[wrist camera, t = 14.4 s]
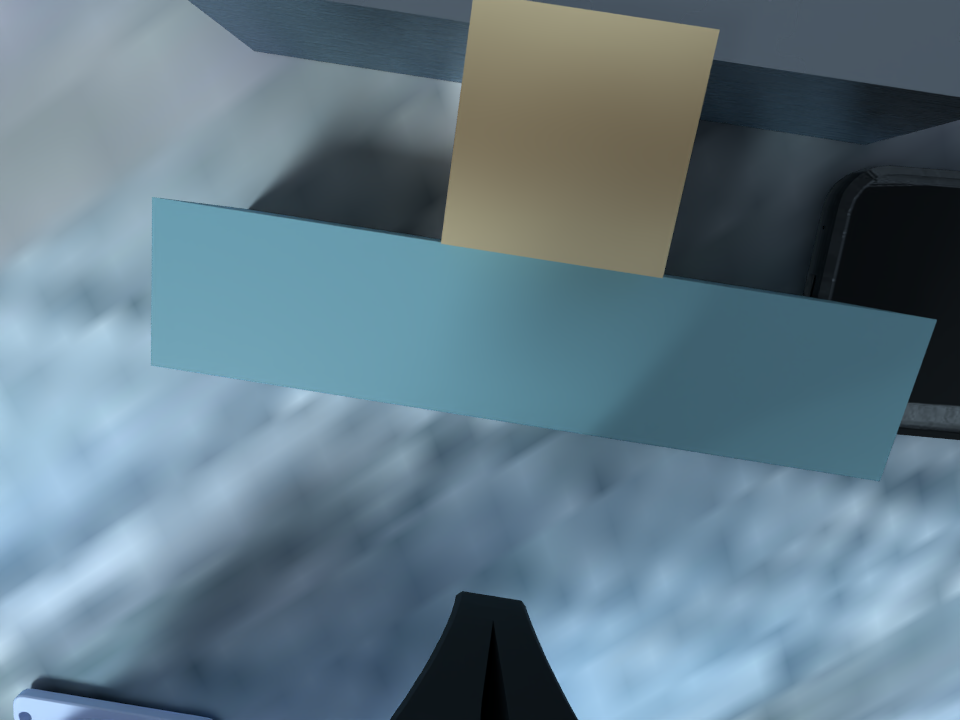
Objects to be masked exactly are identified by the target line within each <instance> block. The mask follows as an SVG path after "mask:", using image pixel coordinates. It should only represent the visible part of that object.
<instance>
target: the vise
mask: <svg viewBox="0 0 960 720" xmlns="http://www.w3.org/2000/svg"><path fill="white" fill-rule="evenodd" d="M188 1H190V2H191V3H192V4H194V5H195V6H196V7H197V8H199V9H200V10H201V11H203V12H204V13H205V14H207V15H208V16H209V17H211V18H212V19H213V20H214V21H216V22H217V23H218V24H220V25H221V26H222V27H224V28H225V29H226V30H228V31H229V32H230V33H231V34H233V35H234V36H235V37H237V38H238V39H239V40H241V41H242V42H243V43H245V44H246V45H247V46H248V47H250V48H251V49H252V50H254V51H257V52H264V53H270V54H277V55H284V56H290V57H297V58H303V59H310V60H316V61H323V62H329V63H336V64H342V65H349V66H355V67H362V68H368V69H375V70H381V71H388V72H394V73H401V74H407V75H414V76H420V77H427V78H433V79H440V80H446V81H453V82H459V83H462V78H463V70H464V63H465V55H466V48H467V40H468V32H469V25H470V17H471V9H472V2H473V0H188ZM527 1H533V2H540V3H547V4H553V5H560V6H566V7H573V8H580V9H586V10H593V11H600V12H606V13H613V14H619V15H626V16H633V17H639V18H646V19H652V20H659V21H666V22H672V23H679V24H686V25H692V26H699V27H705V28H712V29H719V30H720V31H719V35H718V40H717V44H716V48H715V53H714V57H713V61H712V66H711V70H710V75H709V79H708V83H707V88H706V92H705V96H704V101H703V105H702V109H701V114H700V118H699V119H701V120H707V121H714V122H720V123H727V124H733V125H740V126H746V127H753V128H759V129H766V130H772V131H779V132H785V133H792V134H798V135H805V136H811V137H818V138H824V139H831V140H837V141H844V142H850V143H857V144H863V145H866V144H870V143H874V142H878V141H881V140H885V139H889V138H893V137H896V136H900V135H904V134H908V133H911V132H915V131H919V130H923V129H926V128H930V127H934V126H938V125H941V124H945V123H949V122H953V121H956V120H960V0H527Z"/></svg>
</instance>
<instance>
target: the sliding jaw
mask: <svg viewBox="0 0 960 720" xmlns="http://www.w3.org/2000/svg"><path fill="white" fill-rule="evenodd" d="M936 322H937V320H936V319H930V318H924V317H919V316H913V315H908V314H902V313H897V312H891V311H886V310H880V309H875V308H869V307H864V306H858V305H853V304H847V303H841V302H836V301H830V300H823V299H817V298H812V297H806V296H800V295H794V294H787V293H781V292H775V291H768V290H762V289H755V288H749V287H742V286H736V285H730V284H723V283H717V282H710V281H704V280H698V279H691V278H685V277H678V276H672V275H666V274H664V275H663V278H657V277H651V276H645V275H638V274H632V273H625V272H619V271H612V270H606V269H600V268H593V267H587V266H580V265H574V264H568V263H561V262H555V261H548V260H542V259H535V258H529V257H523V256H516V255H510V254H503V253H497V252H490V251H484V250H478V249H471V248H465V247H458V246H452V245H445V244H441V239H435V238H429V237H422V236H416V235H409V234H403V233H397V232H390V231H384V230H377V229H371V228H365V227H358V226H352V225H345V224H339V223H333V222H326V221H320V220H313V219H307V218H301V217H294V216H288V215H281V214H275V213H269V212H262V211H256V210H249V209H242V208H234V207H226V206H218V205H210V204H202V203H194V202H186V201H179V200H171V199H163V198H155V197H152V303H151V366H158V367H164V368H170V369H177V370H183V371H189V372H195V373H202V374H208V375H214V376H221V377H227V378H233V379H239V380H246V381H252V382H258V383H265V384H271V385H277V386H283V387H290V388H296V389H302V390H309V391H315V392H321V393H327V394H334V395H340V396H346V397H353V398H359V399H365V400H371V401H378V402H384V403H390V404H397V405H403V406H409V407H415V408H422V409H428V410H434V411H441V412H447V413H453V414H459V415H466V416H472V417H478V418H485V419H491V420H497V421H503V422H510V423H516V424H522V425H529V426H535V427H541V428H547V429H554V430H560V431H566V432H573V433H579V434H585V435H591V436H598V437H604V438H610V439H617V440H623V441H629V442H635V443H642V444H648V445H654V446H661V447H667V448H673V449H679V450H686V451H692V452H698V453H705V454H711V455H717V456H723V457H730V458H736V459H742V460H749V461H755V462H761V463H768V464H774V465H780V466H786V467H793V468H799V469H805V470H812V471H818V472H824V473H830V474H837V475H843V476H849V477H856V478H862V479H868V480H874V481H880V479H881V476H882V473H883V471H884V468H885V465H886V462H887V459H888V457H889V454H890V451H891V448H892V445H893V443H894V440H895V437H896V434H897V431H898V428H899V426H900V423H901V420H902V417H903V414H904V412H905V409H906V406H907V403H908V400H909V398H910V395H911V392H912V389H913V386H914V383H915V381H916V378H917V375H918V372H919V369H920V367H921V364H922V361H923V358H924V355H925V352H926V350H927V347H928V344H929V341H930V338H931V336H932V333H933V330H934V327H935V324H936Z"/></svg>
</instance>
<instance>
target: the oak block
mask: <svg viewBox="0 0 960 720" xmlns="http://www.w3.org/2000/svg"><path fill="white" fill-rule="evenodd" d="M719 31H720V30H719V29H712V28H705V27H699V26H692V25H686V24H679V23H672V22H666V21H659V20H652V19H646V18H639V17H633V16H626V15H619V14H613V13H606V12H600V11H593V10H586V9H580V8H573V7H566V6H560V5H553V4H547V3H540V2H533V1H527V0H473V2H472V9H471V17H470V25H469V32H468V40H467V48H466V55H465V63H464V70H463V78H462V86H461V93H460V101H459V109H458V116H457V124H456V132H455V139H454V147H453V155H452V162H451V170H450V177H449V185H448V193H447V200H446V208H445V216H444V223H443V231H442V239H441V244H445V245H452V246H458V247H465V248H471V249H478V250H484V251H490V252H497V253H503V254H510V255H516V256H523V257H529V258H535V259H542V260H548V261H555V262H561V263H568V264H574V265H580V266H587V267H593V268H600V269H606V270H612V271H619V272H625V273H632V274H638V275H645V276H651V277H657V278H663V275H664V271H665V266H666V262H667V258H668V253H669V249H670V245H671V240H672V236H673V231H674V227H675V223H676V218H677V214H678V210H679V205H680V201H681V197H682V192H683V188H684V183H685V179H686V175H687V170H688V166H689V162H690V157H691V153H692V149H693V144H694V140H695V136H696V131H697V127H698V122H699V118H700V114H701V109H702V105H703V101H704V96H705V92H706V88H707V83H708V79H709V75H710V70H711V66H712V61H713V57H714V53H715V48H716V44H717V40H718V35H719Z"/></svg>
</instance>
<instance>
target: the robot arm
mask: <svg viewBox="0 0 960 720" xmlns="http://www.w3.org/2000/svg"><path fill="white" fill-rule="evenodd" d="M13 709H14V720H213V719H211V718H208V717H201V716H195V715H189V714H183V713H177V712H171V711H165V710H159V709H153V708H147V707H141V706H135V705H129V704H123V703H117V702H110V701H104V700H98V699H92V698H86V697H80V696H74V695H68V694H62V693H56V692H50V691H44V690H38V689H25V690H23V691H22V692H21V693H20V694H19V695H18V696H17V697H16V698H15V699H14V702H13ZM390 720H578V719H577V717H576V715H575V714H574V712H573V710H572V708H571V706H570V704H569V703H568V701H567V699H566V697H565V695H564V693H563V691H562V689H561V687H560V685H559V683H558V681H557V679H556V677H555V675H554V673H553V671H552V669H551V667H550V665H549V663H548V661H547V659H546V656H545V654H544V652H543V650H542V647H541V645H540V643H539V641H538V638H537V636H536V633H535V631H534V628H533V626H532V623H531V621H530V618H529V615H528V613H527V610H526V607H525V605H524V604H523V602H522V601H520V600H514V599H508V598H501V597H495V596H489V595H482V594H476V593H470V592H463V591H462V592H460V593H459V594H457V595H456V598H455V603H454V606H453V610H452V613H451V615H450V618H449V620H448V623H447V625H446V627H445V629H444V631H443V634H442V636H441V638H440V640H439V642H438V643H437V645H436V647H435V649H434V651H433V653H432V655H431V656H430V658H429V660H428V662H427V664H426V665H425V667H424V669H423V671H422V672H421V674H420V675H419V677H418V678H417V680H416V682H415V683H414V685H413V686H412V688H411V689H410V691H409V693H408V694H407V696H406V697H405V699H404V700H403V702H402V703H401V705H400V706H399V708H398V709H397V710H396V712H395V713H394V715H393V716H392V717H391V719H390Z"/></svg>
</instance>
